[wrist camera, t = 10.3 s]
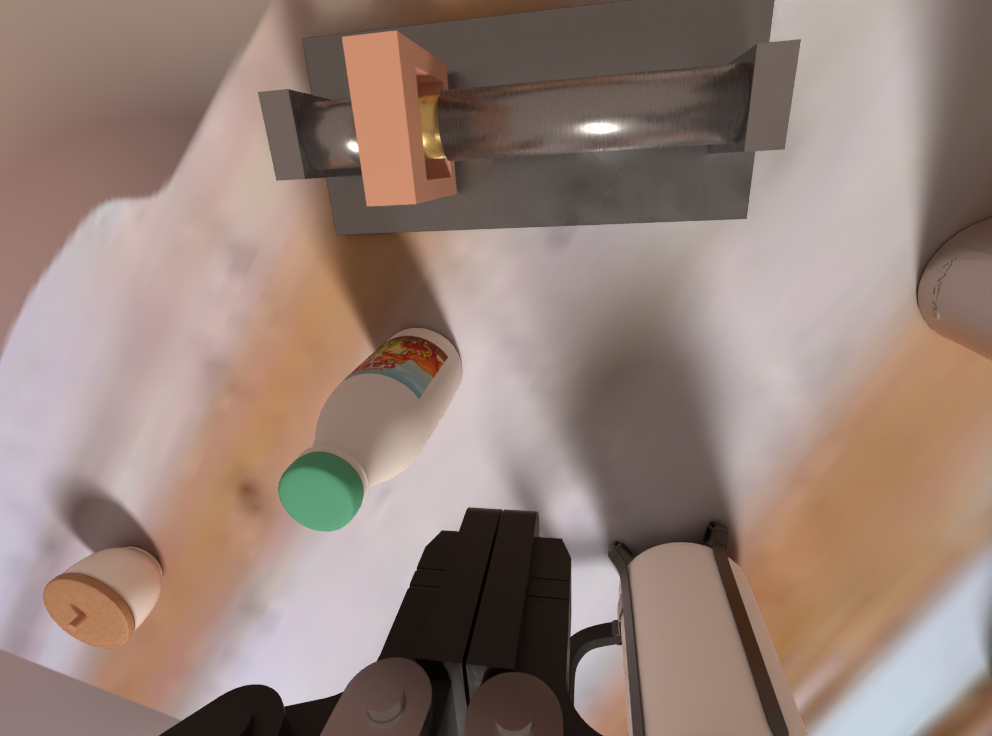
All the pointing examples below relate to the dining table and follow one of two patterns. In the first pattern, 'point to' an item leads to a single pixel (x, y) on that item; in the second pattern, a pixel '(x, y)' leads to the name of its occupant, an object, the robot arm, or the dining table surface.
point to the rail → (562, 117)
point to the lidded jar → (105, 595)
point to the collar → (395, 118)
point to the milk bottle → (372, 427)
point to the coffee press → (692, 645)
